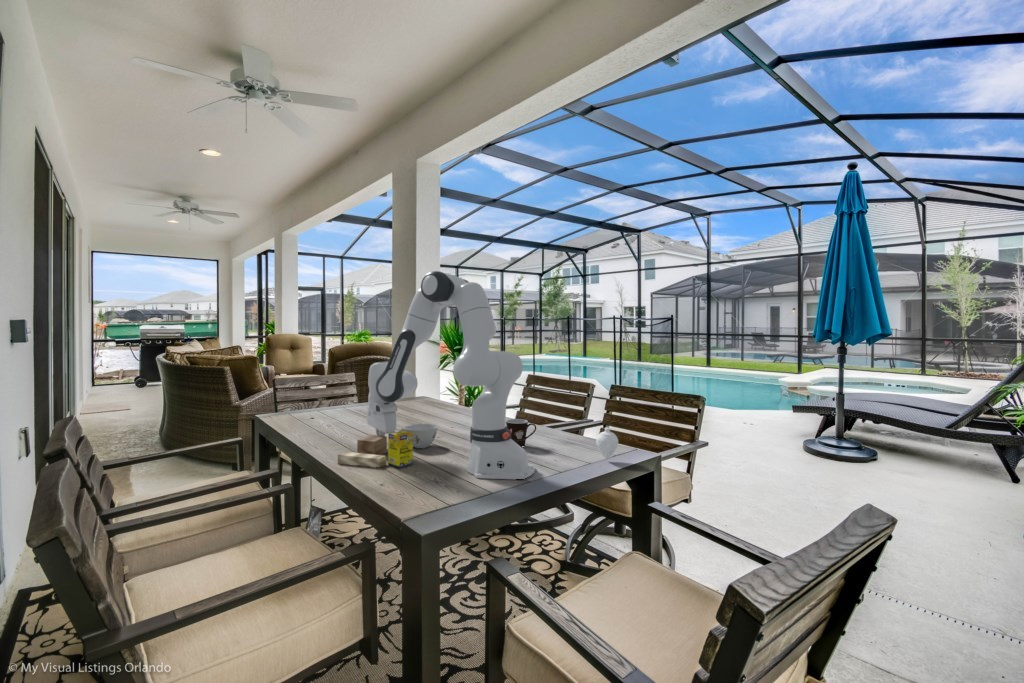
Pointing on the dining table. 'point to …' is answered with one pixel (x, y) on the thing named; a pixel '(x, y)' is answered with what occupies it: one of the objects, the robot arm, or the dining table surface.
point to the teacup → (422, 434)
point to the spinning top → (607, 442)
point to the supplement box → (400, 449)
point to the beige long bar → (361, 459)
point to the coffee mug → (519, 430)
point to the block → (372, 445)
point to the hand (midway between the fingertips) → (380, 440)
